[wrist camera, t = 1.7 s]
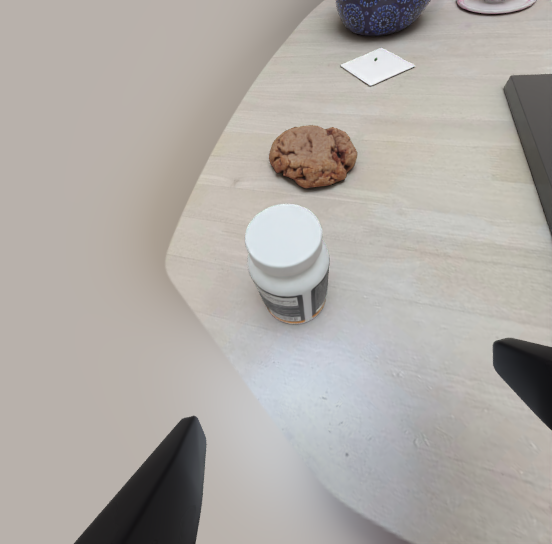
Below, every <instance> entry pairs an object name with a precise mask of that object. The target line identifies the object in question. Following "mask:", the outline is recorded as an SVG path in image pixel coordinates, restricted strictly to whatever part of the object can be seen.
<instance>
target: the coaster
mask: <svg viewBox="0 0 552 544" xmlns="http://www.w3.org/2000/svg"><path fill="white" fill-rule="evenodd" d="M340 66H342V67H343V68H345V69H346V70H348V71H349V72H351V73H352V74H354V75H355V76H357V77H358V78H359V79H361V80H362V81H364V82H365V83H367V84H368V85H370V86H371V85H374V84H376V83H378V82H380V81H383V80H385V79H387V78H390V77H392V76H394V75H396V74H399V73H401V72H403V71H405V70H408V69H410V68H412V67H414V66H415V65H413V64H411V63H410V62H408V61H406V60H404V59H402V58H400V57H398V56H397V55H395V54H393V53H391V52H389V51H387V50H385V49H384V48H379V49H377V50H375V51H372V52H370V53H368V54H365V55H363V56H361V57H358V58H356V59H353V60H351V61H349V62H346V63H344V64H342V65H340Z"/></svg>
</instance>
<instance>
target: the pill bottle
mask: <svg viewBox="0 0 552 544" xmlns="http://www.w3.org/2000/svg"><path fill="white" fill-rule="evenodd" d="M245 244H246V248H247V251H248V270H249V273H250V276H251V278H252V279H253V281H254V283H255V285H256V287H257V289H258V291H259V293H260V295H261V297H262V299H263V301H264V303H265V305H266V307H267V309H268V310H269V312H270V313H271V314H272V315H273V316H274V317H275V318H276V319H278V320H280V321H282V322H285V323H289V324H301V323H305V322H308V321H310V320H311V319H313V318H314V317H316V316H317V315H318V314H319V313H320V311H321V310H322V308H323V306H324V304H325V301H326V295H327V286H328V273H329V260H330V258H329V252H328V249H327V246H326V244H325V242H324V241H323V238H322V227H321V224H320V222H319V220H318V218H317V217H316V216H315V215H314V214H313V213H312V212H311V211H310V210H308V209H307V208H304V207H302V206H299V205H295V204H278V205H274V206H271V207H269V208H266V209H264V210H263V211H261V212H260V213H258V214H257V215H256V216H255V217H254V218H253V219H252V221H251V222H250V223H249V225H248V227H247V230H246V234H245Z"/></svg>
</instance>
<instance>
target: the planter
mask: <svg viewBox="0 0 552 544" xmlns="http://www.w3.org/2000/svg"><path fill="white" fill-rule="evenodd" d="M430 1H431V0H336V7H337V11H338V14H339V16H340V18H341V20H342V22H343V23H344V25H345V26H346V27H347V28H348V29H349V30H351V31H352V32H354V33H357V34H360V35H366V36H381V35H387V34H391V33H395V32H397V31H400V30H402V29H404V28H406V27H407V26H409V25H410V24H412V23H413V22H414V21H415V20H416V19H417V18H418V17H419V16H420V15H421V14H422V12H423V11H424V10H425V8H426V7H427V5H428V4H429V2H430Z"/></svg>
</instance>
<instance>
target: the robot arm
mask: <svg viewBox="0 0 552 544" xmlns="http://www.w3.org/2000/svg"><path fill="white" fill-rule="evenodd" d="M493 366H494V368H495V370H496V372H497V373H498V374H499V375H500V377H501V378H502V379H503V380H504V381H505V382H506V383H507V384H508V385H509V386H510V387H511V388H512V389H513V391H514V392H515V393H516V394H517V395H518V396H519V397H520V398H521V399H522V400H523V401H524V402H525V403H526V405H527V406H528V407H529V408H530V409H531V410H532V411H533V412H534V413H535V414H536V415H537V416H538V417H539V418H540V419H541V420H542V421H543V422H544V423H545V424H546V425H547V426H548V427H549V428H550V429H551V430H552V347H548V346H544V345H540V344H535V343H531V342H527V341H522V340H518V339H514V338H505V339H501V340H497V341H495V342H494V343H493ZM205 454H206V437H205V434H204V432H203V429H202V427H201V425H200V422H199V420H198V418H197V417H196V416H191V417H187V418H184V419H182V420H181V421H180V422H179V423H178V424H177V425H176V426H175V427H174V429H173V430H172V431H171V432H170V433H169V434H168V435H167V437H166V438H165V439H164V440H163V441H162V442H161V444H160V445H159V446H158V447H157V448H156V449H155V451H154V452H153V453H152V454H151V455H150V456H149V457H148V459H147V460H146V461H145V462H144V463H143V464H142V466H141V467H140V468H139V469H138V470H137V471H136V473H135V474H134V475H133V476H132V477H131V478H130V479H129V481H128V482H127V483H126V484H125V485H124V486H123V487H122V489H121V490H120V491H119V492H118V493H117V494H116V495H115V497H114V498H113V499H112V500H111V501H110V502H109V504H108V505H107V506H106V507H105V508H104V509H103V510H102V512H101V513H100V514H99V515H98V516H97V517H96V519H95V520H94V521H93V522H92V523H91V524H90V525H89V527H88V528H87V529H86V530H85V531H84V532H83V534H82V535H81V536H80V537H79V538H78V540H76V542H75V543H74V544H195V542H196V537H197V531H198V525H199V518H200V513H201V505H202V495H203V483H204V469H205V456H206V455H205Z"/></svg>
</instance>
